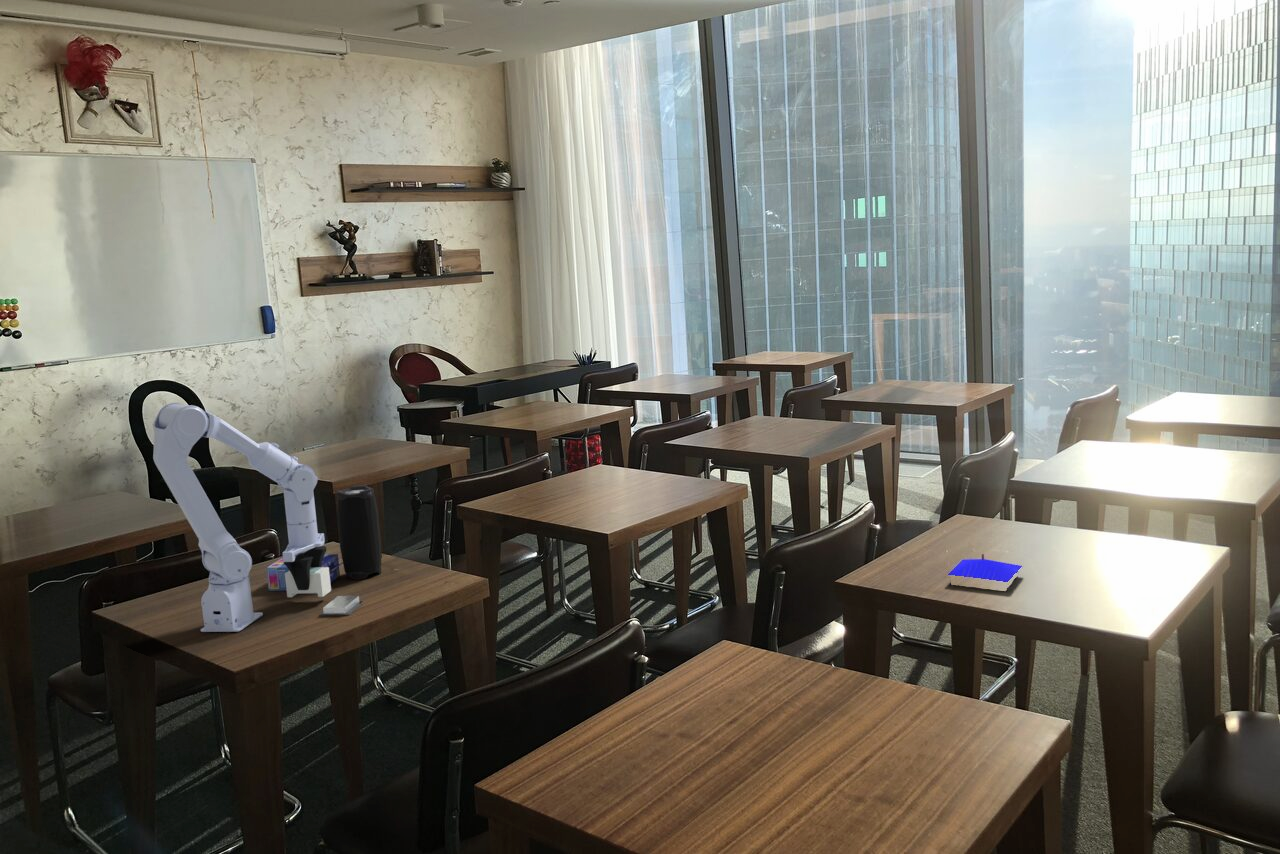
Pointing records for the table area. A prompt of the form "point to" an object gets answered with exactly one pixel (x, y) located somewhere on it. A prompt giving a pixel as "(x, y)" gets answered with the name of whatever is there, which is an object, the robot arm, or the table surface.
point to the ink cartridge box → (279, 569)
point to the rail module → (311, 582)
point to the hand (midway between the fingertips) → (308, 586)
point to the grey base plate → (342, 606)
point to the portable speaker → (359, 531)
